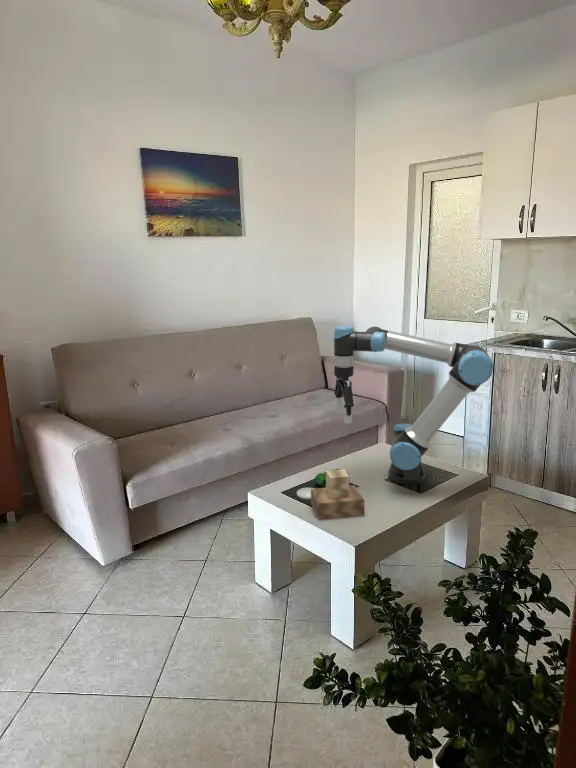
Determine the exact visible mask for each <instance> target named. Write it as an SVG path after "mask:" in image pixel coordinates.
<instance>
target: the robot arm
mask: <svg viewBox="0 0 576 768" xmlns="http://www.w3.org/2000/svg"><path fill="white" fill-rule="evenodd" d="M333 336H334V337H333V349H334V350H333V356H334V357H333V358H332V360H333V362H334V363H333V364H334V365H335V366H334V367H333V368H334V369H333V372H334V373H333V375H334V377H336V380H335V386H334V393H333V394H334V395H335V414H344V424H352V423H353V417H352V416H353V407H354V406H355V404H354V397H353V396H354V395H353V390H352V389H353V388H352V387H353V386H352V385H353V384H352V383H353V382H352V381H351V380H349V378H350V377H353V376H354V364H355V362H354V361H355V358H354V357H355V355H354V352H371V353H373V352H374V353H377V352H380V353H381V352H384V351H385V350H388V351H393V352H396V353H397V352H398V353H402V354H407V355H409V356H410V355H411V356H413V357H414V356H415V357H419V358H423V359H427V360H432V361H435V362H441V363H446V364H447V365H448V367H449V368H451V369H450V370H449V372H448V377H449V378H448V380H447V381H446V382H445V383H444V385H443V386H442V387H441V388H440V390H439V391H438V393H437V394H436V395H435V396H434V397H433V398H432V400H431V401H430V403H429V404H428V405H427V406H426V407H425V409H424V410H423V411H422V413H421V414H420V415H419V416H418V418H417V419H416V420H415V422H414V423H413V424H412V423H397V424H395V425H394V426H393V430H392V431H393V439H392V442H391V447H390V450H389V458H390V461H391V463H390V464H389V465H390V466H389V468H388V471H387V472H388V473H387V475H388V478H389V480H391V481H392V482H394V483H398V484H403V485H416V484H419V483H423V482H424V481H425V479H426V472H425V469H424V465H423V462H422V458H423V456H424V454H426V452H427V451H428V449H429V448H430V447H431V444H430V441H431V440H432V438H433V437H434V436H435V434H437V432H438V431H439V430H440V429H441V427H442V426H444V425H443V424H444V423H445V422H446V421H447V420H448V419H449V417H450V416H451V415H452V414H453V413H454V412H455V410H456V409H457V408H458V406H459V405H460V404H461V402H462V401H463V400H464V399H465V398H466V396H467V395H468V394H469V393H475V392H476V391H477V390H478V389H479V387H480V386H481V385H483V384H485V383H487V382H488V381H489V379H490V378H491V377H492V375H493V370H494V362H493V359H492V358H491V356H490V355H489V353H488V352H487V351H486V349H484V348H483V347H481V346H479V345H478V346H477V345H472V344H466V343H461V342H460V343H459V342H453V343H447V342H443V341H440V340H439V341H437V340H434V339H429V338H425V337H420V336H415V335H411V334H406V333H403V332H396V331H392V330H387V329H382V327H379V326H370V327H369V328H367V329H366V331H355V329H354V326H352V325H338V326H336V327H335V328H334V335H333ZM343 404H344V405H343Z"/></svg>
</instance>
